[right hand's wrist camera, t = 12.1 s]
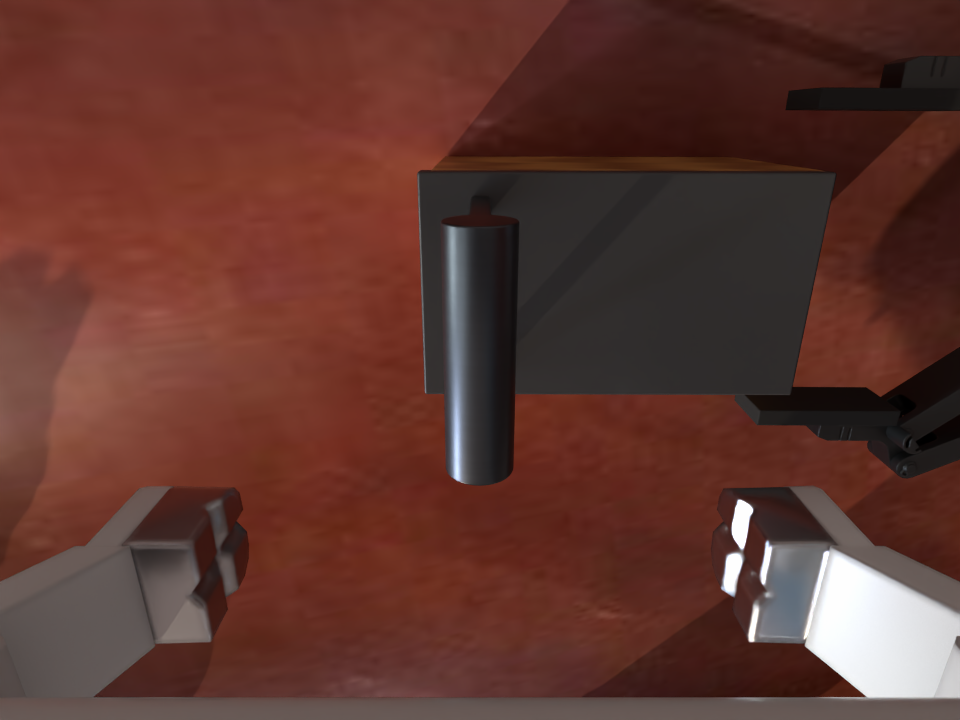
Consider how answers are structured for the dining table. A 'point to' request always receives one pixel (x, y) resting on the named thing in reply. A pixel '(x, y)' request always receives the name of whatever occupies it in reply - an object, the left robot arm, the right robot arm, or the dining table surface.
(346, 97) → the dining table surface
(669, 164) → the chest
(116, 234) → the dining table surface
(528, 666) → the dining table surface
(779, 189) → the lid
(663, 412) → the dining table surface
